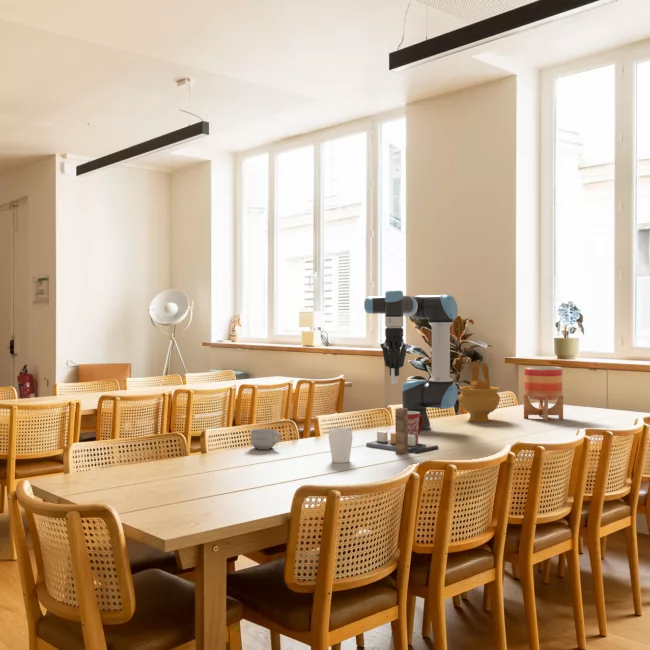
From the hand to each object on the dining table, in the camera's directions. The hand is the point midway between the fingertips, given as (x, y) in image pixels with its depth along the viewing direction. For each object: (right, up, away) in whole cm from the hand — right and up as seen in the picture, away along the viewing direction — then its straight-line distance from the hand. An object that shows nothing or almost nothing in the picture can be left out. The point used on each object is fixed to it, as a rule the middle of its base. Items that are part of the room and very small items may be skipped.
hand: (394, 383), depth 299 cm
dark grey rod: (+12, -27, -8) cm, 30 cm away
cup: (-23, -28, -26) cm, 45 cm away
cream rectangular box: (+6, -25, -4) cm, 26 cm away
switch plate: (+1, -27, 0) cm, 27 cm away
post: (+2, -27, -12) cm, 30 cm away
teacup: (-54, -27, -1) cm, 60 cm away
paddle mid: (+1, -25, 0) cm, 25 cm away
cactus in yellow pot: (+51, -25, +72) cm, 92 cm away
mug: (+9, -27, +10) cm, 30 cm away
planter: (+86, -25, +76) cm, 117 cm away
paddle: (-5, -25, +5) cm, 26 cm away
